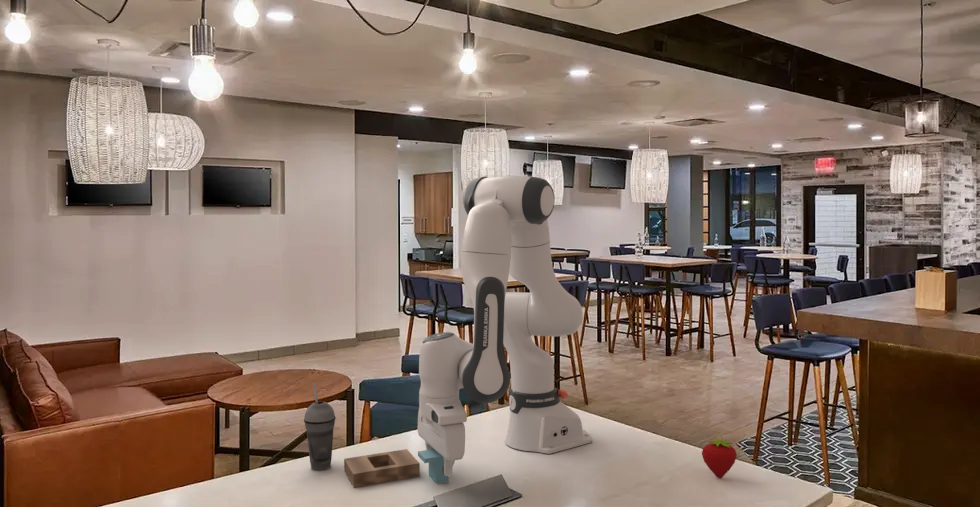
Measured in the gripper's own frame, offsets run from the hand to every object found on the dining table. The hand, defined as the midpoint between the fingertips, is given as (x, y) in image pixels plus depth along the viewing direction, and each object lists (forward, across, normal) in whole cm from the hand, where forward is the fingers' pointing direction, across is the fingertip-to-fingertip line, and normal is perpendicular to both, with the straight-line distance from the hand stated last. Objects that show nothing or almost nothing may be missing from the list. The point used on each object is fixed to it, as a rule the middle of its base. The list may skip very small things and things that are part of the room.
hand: (439, 467), depth 147 cm
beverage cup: (+3, -20, -22) cm, 30 cm away
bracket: (+3, -1, -1) cm, 3 cm away
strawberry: (+3, +27, +56) cm, 62 cm away
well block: (+3, -9, -11) cm, 14 cm away
